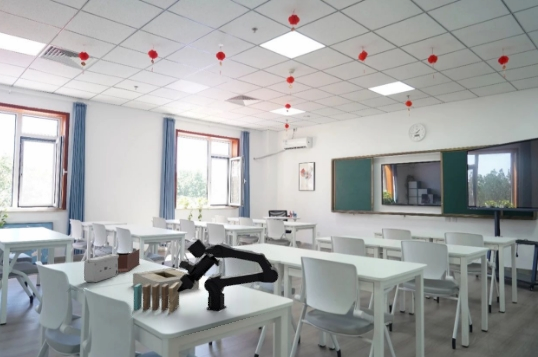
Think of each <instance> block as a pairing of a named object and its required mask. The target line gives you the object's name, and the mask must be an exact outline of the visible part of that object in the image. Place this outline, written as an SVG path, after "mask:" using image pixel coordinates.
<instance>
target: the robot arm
mask: <svg viewBox="0 0 538 357" xmlns="http://www.w3.org/2000/svg"><path fill="white" fill-rule="evenodd" d="M186 250H187V251H188V252H189V253H190V254H191V255H192V256H193V257H194V258H195V259H200V260H199V261H198V262H196V263H195V262H193V261H190V260H188V259H186V258H183V259H181V261H180V262H179V265H178V267H179V268H180V269H184V270H185V271H186V273H188V274H184V275H183V276H182V277H181V278H180V280H181V281H182V284H181V286H180V287H179V289H178V290H177V291H178V292H179V293H181V292H185V291H184V290H186V289H191V288H192V287H193V286H194V285H195V284H196V283H195V281H196V282H197V281H199V282H200V280H201V279H202V278H203V277H204V276H205V274H206V273H207V272H208V271H209V270H210V269H211V268H213V267H214V265H215V266H217V267H219V266H220V265H221V259H230V258H231V259H236V260H237V259H238V260H243V261H248V262H251V263H252V262H253V263H258V265H259V267H260V269H261V270H258V271H253V272H248V273H240V274H235V275H234V274H233V275H228V276H226V275H225V276H224V275H222V274H223V273H222V272H219V273H212V274H211V275H210V276H208V277H207V278H206V280H205V281H204V283H203V287H204V290H206V292H207V293H208V296H207V307H206V308H205V309H206V310H210V311H211V310H212V311H217V312H219V311H221V310H223V309H225V308H227V305H226V304H225V293H224V290H225V288H227V287H231V286H232V287H233V286H238V285H244V284H252V283H264V284H274V283H276V282H277V280H278V278H279V270H278V269H277V268H276V267H275V266H273V265H272V263H271V262H270V261H269V259H268V258H267V257H266V255H265V254H264V253H262V252H254V251H249V250H244V249H240V248H235V247H232V246H230V245H228V244H226V243H223V242H218V243H216V244H214V245H213V246H207V245H206V244H204V242H203V241H202V240H201V238H198V239H196V241H194V242H192V244H191V245H189V246H188V248H187V249H186ZM191 290H192V289H191ZM186 291H187V290H186Z"/></svg>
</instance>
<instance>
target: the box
mask: <svg viewBox="0 0 538 357" xmlns="http://www.w3.org/2000/svg"><path fill="white" fill-rule="evenodd" d="M184 274H188V273H187V271H186V272H185V271H182V270H178V269H176V268H174V267H167V268H160V269H154V270H149V271H147V270H146V271H141V272H140V271H139V272H138V271H137V272H133V273H132V285H133V287H134V286H136V285H137V284H142V290H143V286H145V285H146V284H151V294H152V286H154V285H155V284H160V296H161V288H162V286H163V285H164V284H169V288H170V287H171V286H172V285H173V284H174V283H176V282H179V287H180V286H181V284H182V281H181V280H180V278H181V277H182V276H183V275H184ZM195 283H196V284H195V285H194V286H193V287H192V288H191V289H186V290H184V291H183V292H186V291H190V290H194V289H195V290H196V289H199V288H200V280H199V281H197V282H196V281H195Z"/></svg>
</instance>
